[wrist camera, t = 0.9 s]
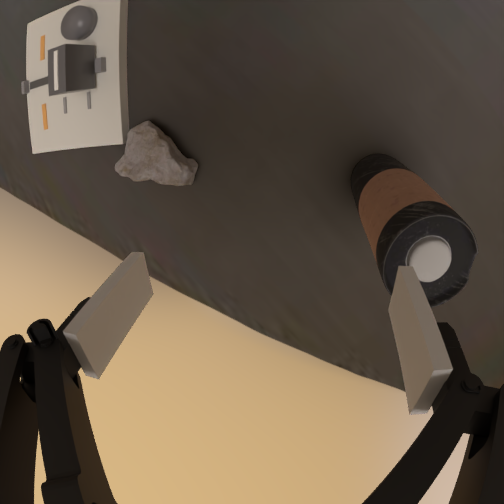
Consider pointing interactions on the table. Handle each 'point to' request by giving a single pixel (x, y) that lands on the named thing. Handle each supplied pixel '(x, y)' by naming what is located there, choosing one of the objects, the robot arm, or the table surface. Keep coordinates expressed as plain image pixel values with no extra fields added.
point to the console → (88, 101)
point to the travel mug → (412, 228)
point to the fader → (71, 68)
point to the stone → (155, 158)
